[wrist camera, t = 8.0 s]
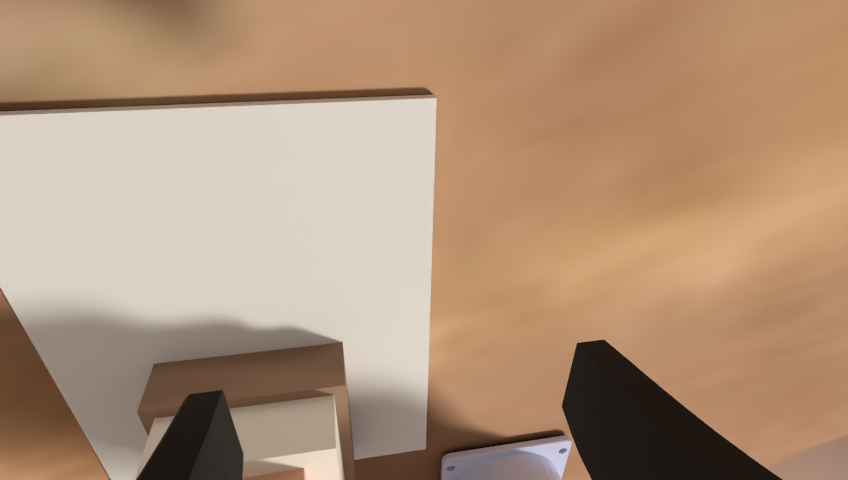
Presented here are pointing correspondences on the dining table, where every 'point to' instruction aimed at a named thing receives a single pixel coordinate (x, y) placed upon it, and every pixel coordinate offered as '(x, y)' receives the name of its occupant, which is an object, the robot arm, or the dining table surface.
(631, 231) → the dining table surface
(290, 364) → the walnut base block
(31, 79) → the dining table surface
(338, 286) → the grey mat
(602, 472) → the robot arm
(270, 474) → the terracotta block
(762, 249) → the dining table surface
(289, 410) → the cream block
